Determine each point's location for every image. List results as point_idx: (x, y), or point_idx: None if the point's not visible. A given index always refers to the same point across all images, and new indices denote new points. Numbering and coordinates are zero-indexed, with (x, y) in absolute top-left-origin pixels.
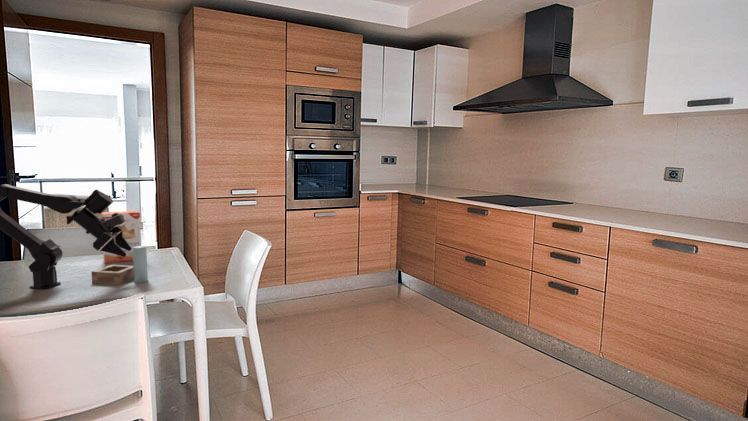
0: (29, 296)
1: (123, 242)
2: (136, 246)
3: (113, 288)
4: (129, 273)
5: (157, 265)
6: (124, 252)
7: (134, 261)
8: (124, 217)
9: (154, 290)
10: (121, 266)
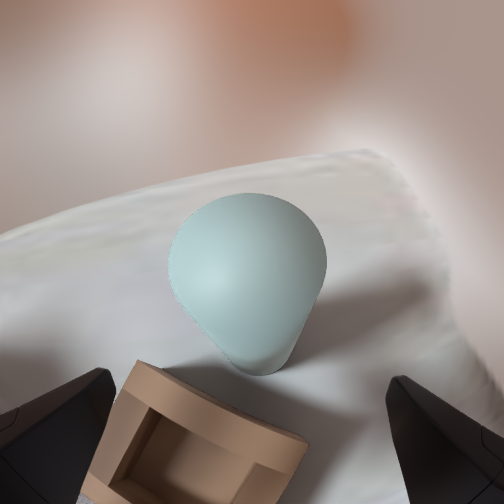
0: None
1: (50, 445)
2: (182, 295)
3: (368, 440)
4: (214, 401)
5: (27, 294)
6: (417, 386)
7: (293, 342)
8: None
9: (415, 259)
10: (126, 446)
